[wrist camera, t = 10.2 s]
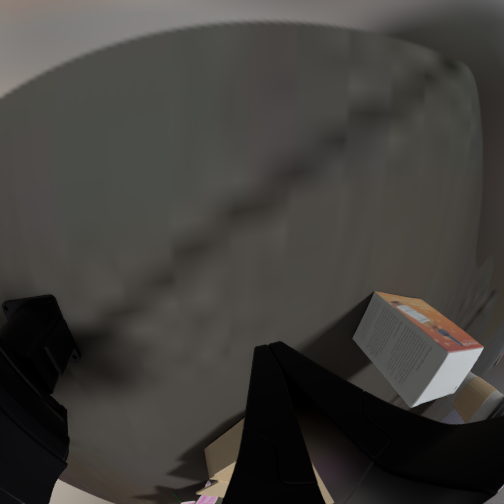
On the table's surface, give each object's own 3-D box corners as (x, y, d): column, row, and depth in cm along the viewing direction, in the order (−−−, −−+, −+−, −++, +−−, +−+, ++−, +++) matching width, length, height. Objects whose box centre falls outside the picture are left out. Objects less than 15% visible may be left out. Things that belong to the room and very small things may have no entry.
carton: (181, 462, 28) (185, 492, 23) (304, 361, 25) (324, 396, 20) (243, 474, 32) (251, 499, 27) (358, 387, 29) (378, 414, 25)
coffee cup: (470, 362, 39) (514, 402, 25) (441, 398, 40) (481, 441, 26) (461, 352, 35) (513, 399, 21) (427, 394, 37) (474, 445, 23)
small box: (420, 297, 26) (485, 346, 17) (398, 340, 28) (455, 394, 18) (373, 289, 24) (450, 351, 14) (349, 338, 26) (410, 410, 16)
